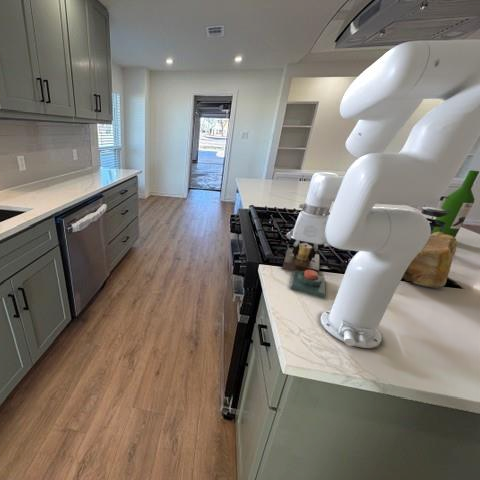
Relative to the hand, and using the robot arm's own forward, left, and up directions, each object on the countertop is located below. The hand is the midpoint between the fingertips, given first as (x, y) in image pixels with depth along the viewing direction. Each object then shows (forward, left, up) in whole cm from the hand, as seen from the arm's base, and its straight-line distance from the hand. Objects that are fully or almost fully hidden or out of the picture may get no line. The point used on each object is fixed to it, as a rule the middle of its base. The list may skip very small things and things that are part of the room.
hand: (302, 256), depth 93 cm
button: (-14, -3, 0) cm, 14 cm away
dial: (0, 0, 0) cm, 0 cm away
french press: (+51, -45, +3) cm, 69 cm away
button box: (-14, -3, -4) cm, 15 cm away
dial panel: (0, 0, -4) cm, 4 cm away
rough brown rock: (+16, -35, -4) cm, 39 cm away
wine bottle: (+69, -57, -4) cm, 90 cm away
